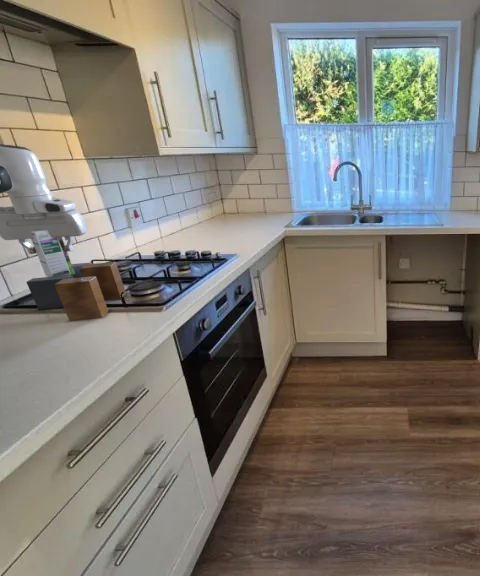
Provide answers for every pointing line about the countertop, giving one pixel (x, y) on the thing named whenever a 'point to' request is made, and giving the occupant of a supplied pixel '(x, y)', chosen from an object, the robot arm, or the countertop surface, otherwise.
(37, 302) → the grey boxes
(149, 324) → the countertop surface
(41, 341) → the countertop surface
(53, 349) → the countertop surface
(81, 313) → the wooden blocks
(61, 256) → the syrup box
